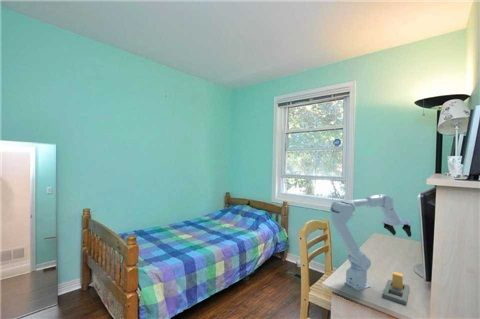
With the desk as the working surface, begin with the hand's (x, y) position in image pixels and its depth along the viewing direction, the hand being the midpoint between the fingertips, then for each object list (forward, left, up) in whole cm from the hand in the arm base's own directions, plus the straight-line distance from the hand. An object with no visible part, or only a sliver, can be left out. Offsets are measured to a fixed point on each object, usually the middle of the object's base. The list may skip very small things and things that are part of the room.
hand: (402, 234), depth 124 cm
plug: (-11, -5, -24) cm, 27 cm away
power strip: (-15, -7, -24) cm, 29 cm away
